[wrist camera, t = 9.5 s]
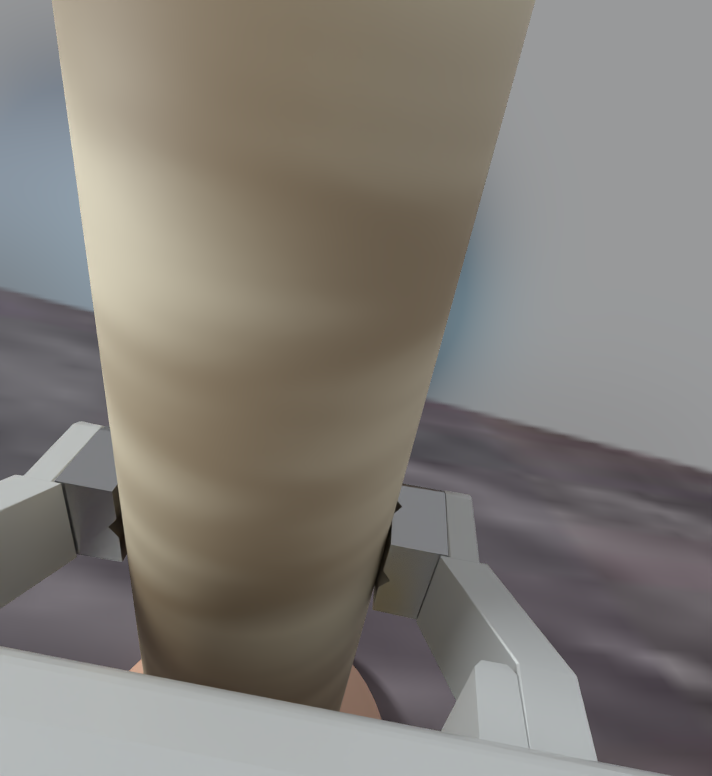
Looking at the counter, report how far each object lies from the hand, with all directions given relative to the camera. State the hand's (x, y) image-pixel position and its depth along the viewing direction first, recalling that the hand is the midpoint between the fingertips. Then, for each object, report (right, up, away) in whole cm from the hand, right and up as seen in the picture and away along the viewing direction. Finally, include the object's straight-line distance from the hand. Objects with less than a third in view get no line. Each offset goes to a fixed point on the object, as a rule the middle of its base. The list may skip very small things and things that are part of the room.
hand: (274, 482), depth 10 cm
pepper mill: (-1, -7, +4) cm, 8 cm away
